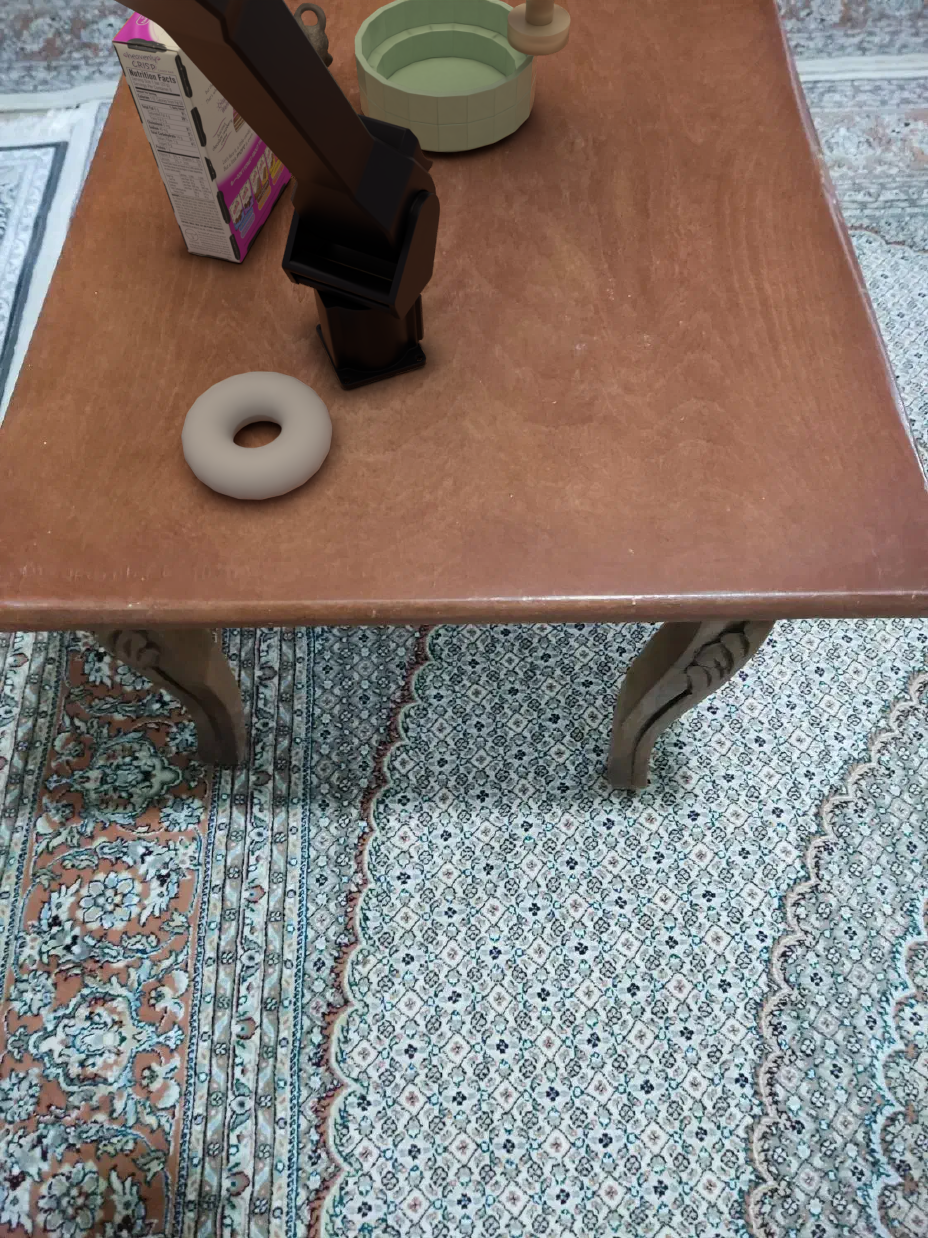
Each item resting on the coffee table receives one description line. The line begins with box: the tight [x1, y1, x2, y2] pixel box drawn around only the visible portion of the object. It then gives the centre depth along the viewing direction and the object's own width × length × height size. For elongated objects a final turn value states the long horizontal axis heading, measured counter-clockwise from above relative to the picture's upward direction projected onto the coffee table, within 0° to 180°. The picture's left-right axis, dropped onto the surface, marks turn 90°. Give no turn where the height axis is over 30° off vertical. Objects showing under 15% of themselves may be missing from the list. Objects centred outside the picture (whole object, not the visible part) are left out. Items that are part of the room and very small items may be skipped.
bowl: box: [354, 0, 538, 153], centre depth 76 cm, size 15×15×6 cm
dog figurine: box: [293, 2, 334, 68], centre depth 76 cm, size 12×6×7 cm, turn 88°
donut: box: [180, 370, 333, 501], centre depth 59 cm, size 10×4×10 cm
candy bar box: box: [111, 11, 292, 264], centre depth 65 cm, size 11×5×16 cm, turn 164°
